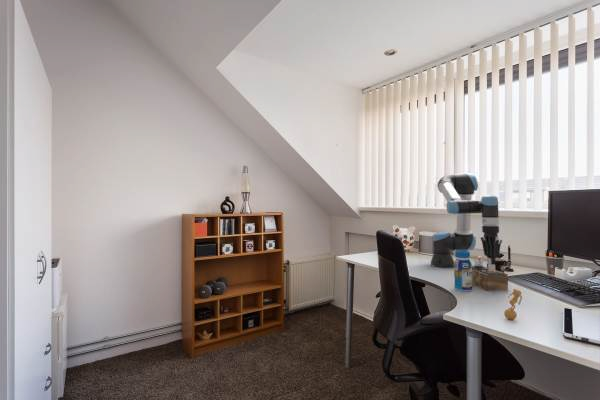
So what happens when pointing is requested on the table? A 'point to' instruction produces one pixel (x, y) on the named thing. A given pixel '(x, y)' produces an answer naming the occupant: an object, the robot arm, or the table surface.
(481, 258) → the back peg
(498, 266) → the coffee mug
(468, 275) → the beverage bottle
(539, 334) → the table surface
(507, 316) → the figurine
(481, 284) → the walnut block
